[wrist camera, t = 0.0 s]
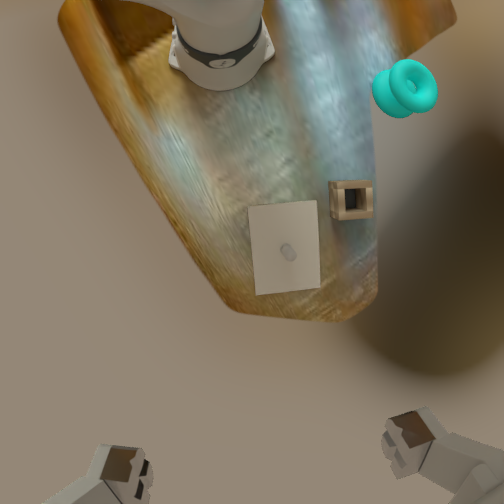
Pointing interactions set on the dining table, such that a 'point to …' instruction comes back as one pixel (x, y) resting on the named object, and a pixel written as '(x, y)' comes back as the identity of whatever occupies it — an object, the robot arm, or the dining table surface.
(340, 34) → the dining table surface
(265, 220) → the post board
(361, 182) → the collar
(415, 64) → the donuts
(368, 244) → the dining table surface
